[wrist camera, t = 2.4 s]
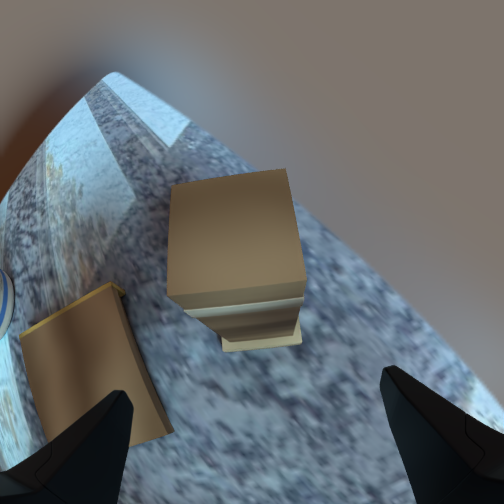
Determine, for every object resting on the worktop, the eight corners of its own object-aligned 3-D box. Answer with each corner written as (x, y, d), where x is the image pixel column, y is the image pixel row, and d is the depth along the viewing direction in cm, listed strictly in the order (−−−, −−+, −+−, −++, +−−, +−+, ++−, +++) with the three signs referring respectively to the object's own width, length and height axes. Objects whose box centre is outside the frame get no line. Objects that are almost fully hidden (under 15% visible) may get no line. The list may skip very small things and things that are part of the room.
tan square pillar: (300, 343, 20) (327, 294, 8) (225, 352, 21) (151, 313, 9) (291, 273, 23) (297, 156, 11) (221, 282, 23) (159, 177, 11)
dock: (73, 459, 17) (56, 463, 15) (35, 340, 22) (18, 335, 20) (181, 428, 18) (169, 433, 16) (125, 290, 23) (110, 280, 21)
